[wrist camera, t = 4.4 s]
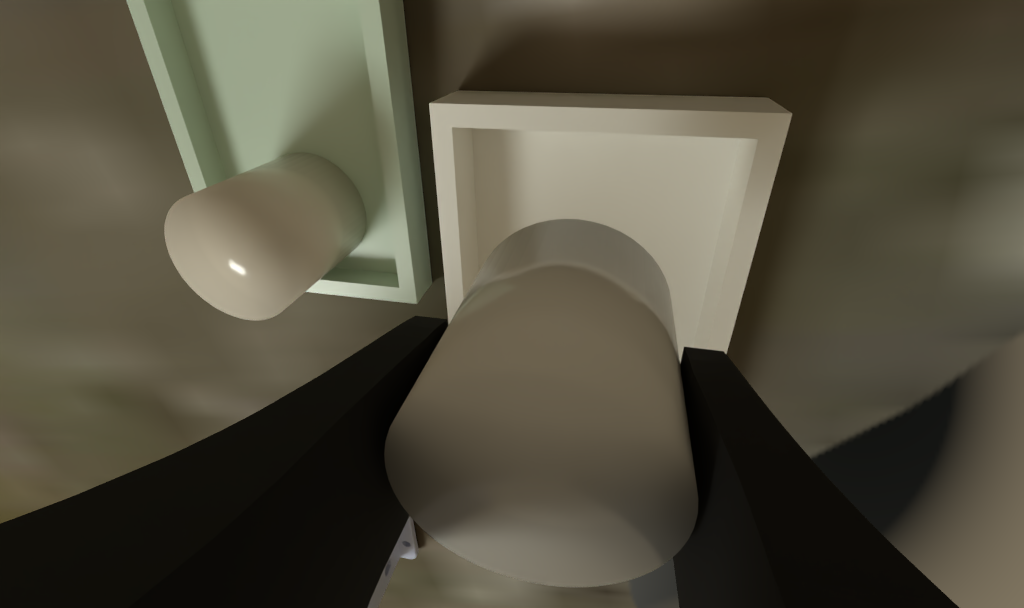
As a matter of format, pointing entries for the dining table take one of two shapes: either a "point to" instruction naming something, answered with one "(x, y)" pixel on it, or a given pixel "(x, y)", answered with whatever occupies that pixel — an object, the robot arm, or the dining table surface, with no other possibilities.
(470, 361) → the pebble
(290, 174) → the pebble
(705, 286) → the bin
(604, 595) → the dining table surface
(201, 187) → the tray
